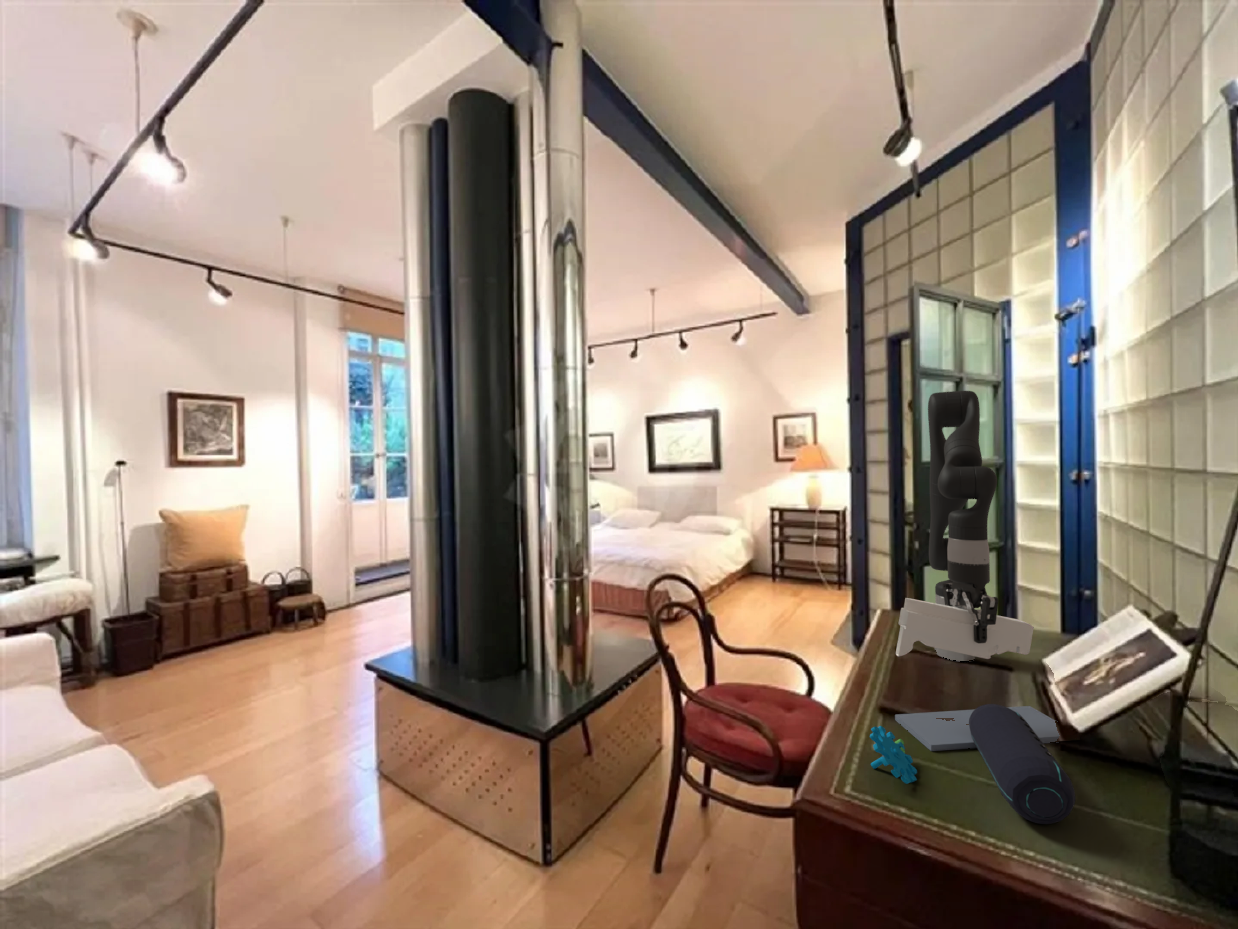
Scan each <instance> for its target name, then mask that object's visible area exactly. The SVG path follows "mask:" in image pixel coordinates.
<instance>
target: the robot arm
mask: <svg viewBox="0 0 1238 929" xmlns="http://www.w3.org/2000/svg"><path fill="white" fill-rule="evenodd" d="M980 409H981V408H980V399H979V397H978V395H977V393H976V392H975V391H972V390H954V391H953V390H952V391H941V392H934V393H932V394H930V395H929V398H928V403H927V419H928V433H929V447H930V448H929V451H930V454H929V457H930V459H929V460H930V462H929V505H930V506H929V507H930V525H929V526H930V527H929V539H928V540H929V541H928V561H929V565H930V567H931V568H932V569H933V570H934V571H935V570H936V571H944V572H947V578H948V579H947V580H941V581H939V582H937V583H936V584H935V587H934V590H935V592H934V594H935V597H934V598H935V603H936V604H941V605H946V606H952V607H957V608H962V609H967V610H968V612H969V614H971V615H972V618H973V621H974V624H975V625H974V641H975V642H976V643H986V641H987V626H988V625H995V624H996V617H997V615H998V609H999V598H998V597H997V596H991V595H989V594H988V592H987V590H986V586H987V584H989V583H990V580H991V576H990V575H991V570H990V568H991V566H990V564H991V563H990V547H989V539H988V538H989V536H988V535H989V534H988V519H989V512H990V508H991V505H992V501H993V499H994V495H995V493H996V490H997V486H998V477H997V475H996V472H995V471H994V470H993V469H992V468H990V467H988V466H982V465H983V457H982V451H981V447H980V439H979V438H980V427H981V426H980V425H981V418H980V416H981V414H980V413H981V412H980V411H981V410H980ZM944 428H956V429H954V430H953V432H951V433H950V434H949V436H948V437H947V438H946V437H945V434H944V432H943V429H944ZM969 500H976V502H975V503H974V504H973V505H972V506H970V507H968V508H964V507H965V506H966V504H967V502H968V501H969ZM947 528H948V537H944V535H945V532H946V530H947ZM979 608H980V609H979ZM978 614H980V615H981V617H980V619H979V618H978ZM988 615H990V618H989V619H988V617H987V616H988ZM935 650H936V651H935ZM934 651H935V652H937V653H936V655H937V656H939V657H941V658H943V657H944V658H943V659H945V658H947V659H946V660H949V659H950V661H953V660H956V661H955V662H960V661H969V660H973V659H975V660H976V656H971V655H967V654H962V653H958V652H953V651H949V650H944V649H940V648H935V647H934ZM973 661H974V660H973ZM969 662H970V661H969Z"/></svg>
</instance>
